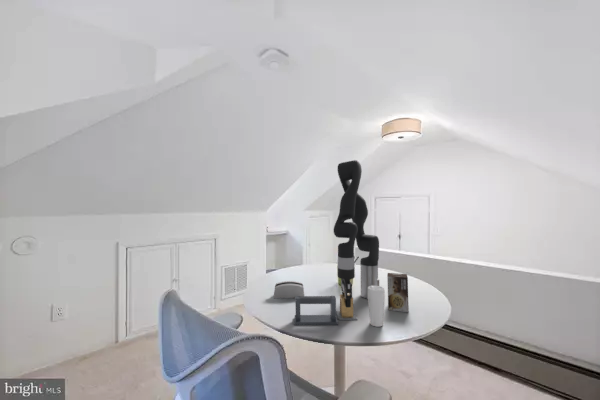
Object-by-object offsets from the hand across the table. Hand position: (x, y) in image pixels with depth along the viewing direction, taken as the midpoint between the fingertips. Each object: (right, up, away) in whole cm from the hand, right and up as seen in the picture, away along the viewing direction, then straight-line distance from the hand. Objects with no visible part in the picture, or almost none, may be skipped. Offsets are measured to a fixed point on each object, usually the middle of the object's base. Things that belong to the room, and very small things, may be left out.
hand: (346, 303), depth 114 cm
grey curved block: (-27, -7, +24) cm, 36 cm away
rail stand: (-14, -6, -5) cm, 16 cm away
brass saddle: (0, -5, 0) cm, 5 cm away
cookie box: (+26, -6, +8) cm, 28 cm away
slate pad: (0, -6, 0) cm, 6 cm away
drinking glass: (+11, -6, -8) cm, 15 cm away
